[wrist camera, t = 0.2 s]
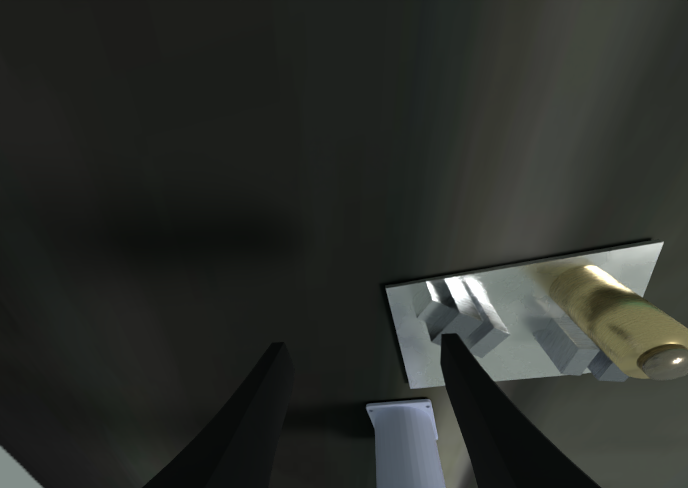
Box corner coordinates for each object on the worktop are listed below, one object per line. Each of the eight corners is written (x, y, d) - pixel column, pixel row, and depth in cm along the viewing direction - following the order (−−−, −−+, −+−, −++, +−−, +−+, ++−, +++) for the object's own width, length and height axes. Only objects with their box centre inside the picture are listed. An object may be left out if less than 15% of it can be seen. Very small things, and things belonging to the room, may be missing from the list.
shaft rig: (610, 366, 25) (648, 407, 22) (409, 385, 29) (416, 421, 25) (658, 239, 18) (724, 269, 15) (385, 285, 22) (389, 317, 18)
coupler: (600, 300, 20) (702, 385, 14) (546, 307, 21) (621, 391, 15) (611, 261, 19) (734, 338, 12) (552, 270, 19) (640, 348, 13)
